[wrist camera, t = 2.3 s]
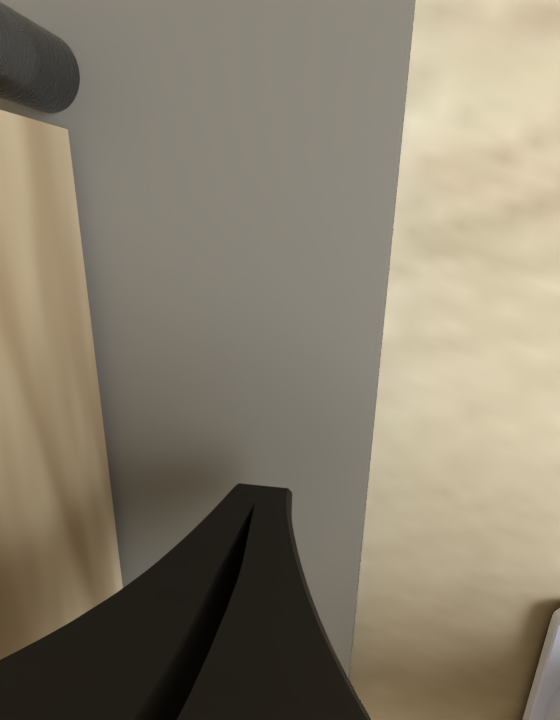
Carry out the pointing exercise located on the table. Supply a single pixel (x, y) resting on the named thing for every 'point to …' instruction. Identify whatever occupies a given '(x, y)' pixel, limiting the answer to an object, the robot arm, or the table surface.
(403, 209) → the table surface
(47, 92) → the hinge post
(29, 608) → the gate
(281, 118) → the gate board
